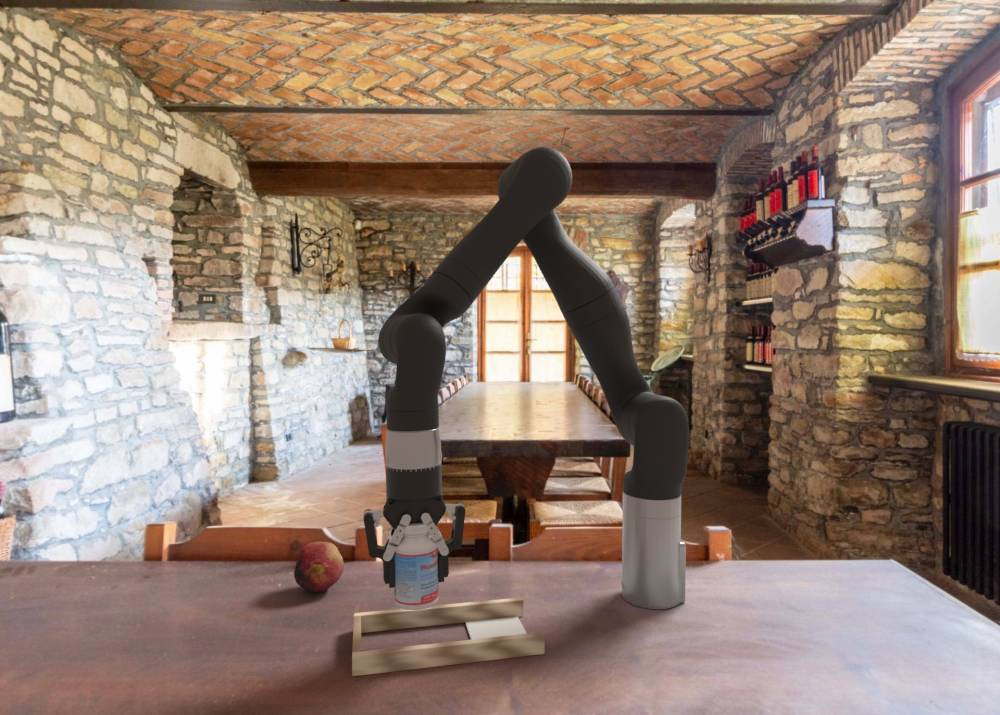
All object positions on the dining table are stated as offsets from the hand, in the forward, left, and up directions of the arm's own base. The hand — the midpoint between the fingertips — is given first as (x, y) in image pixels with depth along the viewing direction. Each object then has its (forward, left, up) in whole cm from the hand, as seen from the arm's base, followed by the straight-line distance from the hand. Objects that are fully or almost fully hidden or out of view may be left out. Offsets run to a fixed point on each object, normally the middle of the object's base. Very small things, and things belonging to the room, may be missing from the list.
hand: (416, 582), depth 81 cm
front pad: (-12, 0, -9) cm, 15 cm away
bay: (-4, 0, -9) cm, 10 cm away
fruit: (+14, -21, -9) cm, 27 cm away
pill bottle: (0, 0, -3) cm, 3 cm away
